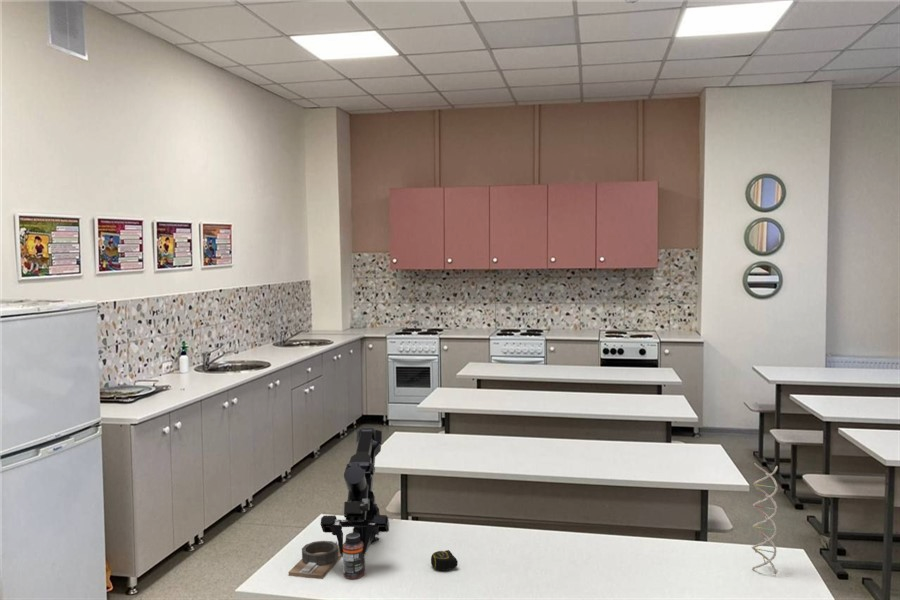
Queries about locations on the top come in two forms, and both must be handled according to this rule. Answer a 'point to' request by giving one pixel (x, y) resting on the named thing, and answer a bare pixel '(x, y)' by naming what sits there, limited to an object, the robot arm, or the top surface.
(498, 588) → the top surface
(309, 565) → the clip holder
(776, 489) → the dna model
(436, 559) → the tape measure
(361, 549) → the supplement bottle
